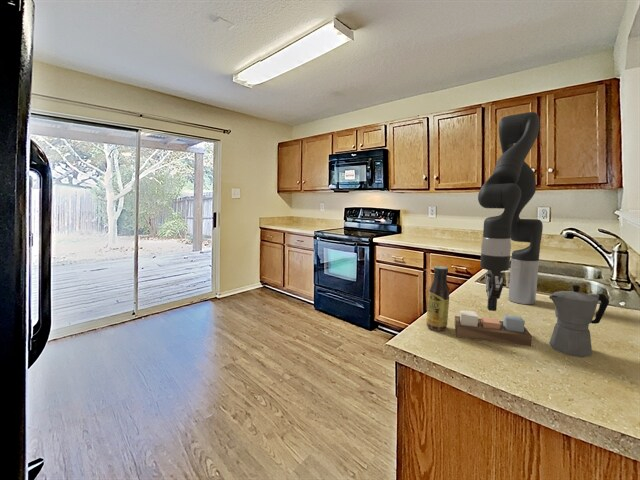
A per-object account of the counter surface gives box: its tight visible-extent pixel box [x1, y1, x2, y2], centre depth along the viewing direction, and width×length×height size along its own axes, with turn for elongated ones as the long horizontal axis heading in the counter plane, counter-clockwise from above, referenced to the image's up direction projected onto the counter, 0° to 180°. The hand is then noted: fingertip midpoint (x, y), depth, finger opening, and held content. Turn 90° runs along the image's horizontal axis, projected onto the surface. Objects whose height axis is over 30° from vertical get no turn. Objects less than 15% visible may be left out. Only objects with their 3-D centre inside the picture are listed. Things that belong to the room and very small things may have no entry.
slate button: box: [502, 314, 525, 332], centre depth 93 cm, size 4×4×4 cm
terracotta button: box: [480, 316, 501, 329], centre depth 95 cm, size 4×4×4 cm
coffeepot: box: [548, 284, 610, 358], centre depth 85 cm, size 15×9×18 cm, turn 89°
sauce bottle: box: [426, 265, 451, 332], centre depth 99 cm, size 7×6×20 cm
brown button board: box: [453, 315, 533, 348], centre depth 95 cm, size 10×19×3 cm, turn 71°
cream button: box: [459, 309, 479, 327], centre depth 97 cm, size 4×4×4 cm
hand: (491, 309), depth 94 cm, fingers closed
